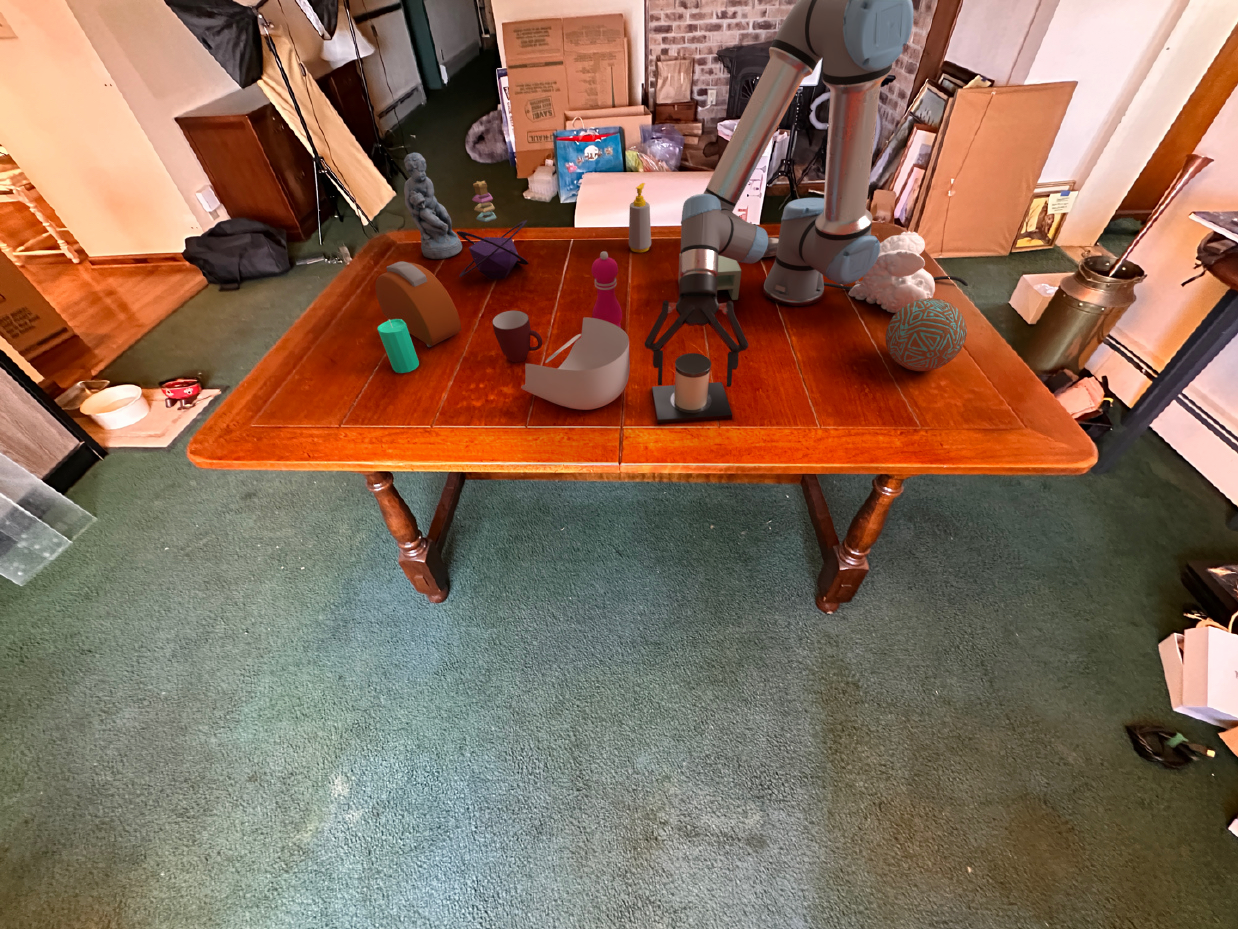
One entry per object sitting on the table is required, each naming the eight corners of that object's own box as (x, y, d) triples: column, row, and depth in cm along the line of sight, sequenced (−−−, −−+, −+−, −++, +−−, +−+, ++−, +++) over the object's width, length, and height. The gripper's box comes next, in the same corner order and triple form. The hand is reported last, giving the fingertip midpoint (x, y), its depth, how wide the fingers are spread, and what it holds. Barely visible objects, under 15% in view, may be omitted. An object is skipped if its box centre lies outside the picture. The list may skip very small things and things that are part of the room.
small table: (728, 278, 154) (731, 250, 148) (737, 299, 145) (741, 270, 140) (678, 281, 154) (679, 253, 148) (684, 303, 145) (686, 273, 140)
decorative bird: (732, 250, 166) (734, 233, 163) (818, 253, 163) (822, 236, 159) (732, 259, 162) (733, 242, 158) (820, 263, 159) (824, 246, 155)
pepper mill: (619, 340, 134) (616, 259, 120) (590, 338, 135) (583, 257, 121) (625, 324, 139) (623, 245, 124) (597, 322, 140) (591, 243, 126)
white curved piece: (596, 431, 110) (592, 382, 102) (521, 401, 118) (511, 353, 110) (646, 378, 122) (646, 331, 114) (575, 354, 130) (570, 309, 121)
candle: (395, 375, 126) (377, 329, 118) (390, 362, 130) (372, 316, 122) (421, 368, 128) (406, 321, 120) (415, 355, 132) (400, 309, 124)
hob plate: (721, 386, 119) (721, 381, 118) (731, 419, 111) (732, 414, 111) (651, 391, 119) (651, 386, 118) (657, 424, 111) (657, 419, 110)
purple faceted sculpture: (551, 268, 162) (539, 176, 145) (503, 299, 150) (484, 203, 132) (493, 253, 171) (475, 164, 154) (444, 281, 159) (418, 188, 141)
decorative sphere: (862, 356, 125) (881, 294, 115) (914, 339, 129) (937, 278, 119) (911, 392, 116) (938, 329, 105) (966, 373, 119) (997, 310, 109)
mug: (548, 348, 132) (542, 310, 125) (542, 368, 126) (536, 329, 119) (504, 348, 133) (496, 310, 126) (497, 367, 127) (488, 329, 120)
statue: (447, 273, 171) (454, 188, 150) (381, 239, 170) (379, 150, 150) (467, 256, 179) (477, 173, 158) (403, 223, 178) (405, 136, 158)
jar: (704, 388, 117) (708, 351, 111) (710, 409, 112) (714, 372, 106) (671, 390, 117) (673, 353, 110) (675, 411, 112) (677, 374, 106)
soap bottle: (654, 245, 171) (655, 183, 158) (646, 254, 166) (646, 191, 154) (634, 242, 173) (633, 180, 160) (625, 251, 169) (623, 188, 156)
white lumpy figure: (963, 296, 125) (898, 237, 123) (889, 352, 139) (830, 300, 138) (964, 265, 137) (905, 211, 136) (896, 320, 152) (842, 272, 150)
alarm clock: (466, 338, 137) (449, 273, 125) (435, 353, 132) (414, 288, 120) (414, 307, 148) (394, 246, 137) (384, 321, 144) (361, 258, 132)
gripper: (760, 284, 112) (755, 389, 113) (637, 283, 115) (633, 386, 115) (765, 271, 105) (761, 383, 105) (634, 271, 108) (629, 380, 108)
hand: (694, 385), depth 110 cm, fingers open, 13 cm apart
